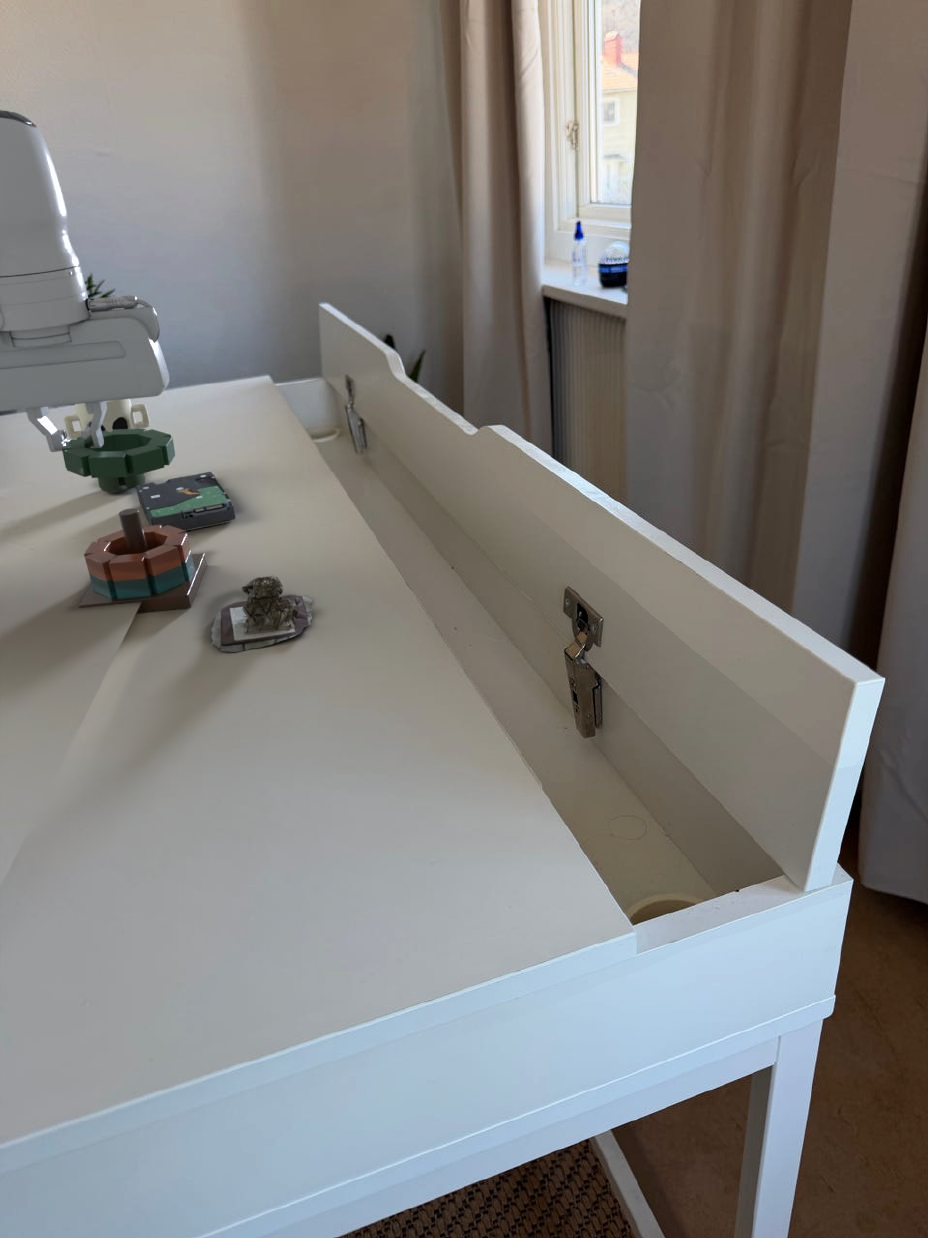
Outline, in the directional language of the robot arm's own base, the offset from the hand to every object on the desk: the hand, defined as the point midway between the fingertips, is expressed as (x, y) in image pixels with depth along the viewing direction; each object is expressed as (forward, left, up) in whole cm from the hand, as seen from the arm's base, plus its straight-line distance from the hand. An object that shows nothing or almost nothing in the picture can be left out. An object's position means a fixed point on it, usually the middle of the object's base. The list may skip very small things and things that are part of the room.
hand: (77, 448), depth 94 cm
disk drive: (+3, +24, -16) cm, 29 cm away
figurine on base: (+17, -10, -16) cm, 25 cm away
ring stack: (+3, 0, -16) cm, 16 cm away
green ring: (+4, 0, -2) cm, 4 cm away
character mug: (-8, +37, -16) cm, 41 cm away
